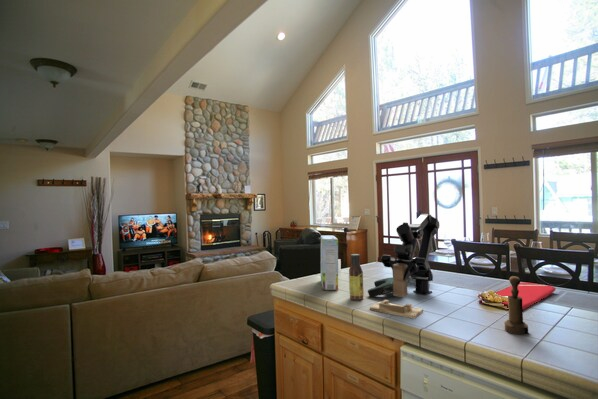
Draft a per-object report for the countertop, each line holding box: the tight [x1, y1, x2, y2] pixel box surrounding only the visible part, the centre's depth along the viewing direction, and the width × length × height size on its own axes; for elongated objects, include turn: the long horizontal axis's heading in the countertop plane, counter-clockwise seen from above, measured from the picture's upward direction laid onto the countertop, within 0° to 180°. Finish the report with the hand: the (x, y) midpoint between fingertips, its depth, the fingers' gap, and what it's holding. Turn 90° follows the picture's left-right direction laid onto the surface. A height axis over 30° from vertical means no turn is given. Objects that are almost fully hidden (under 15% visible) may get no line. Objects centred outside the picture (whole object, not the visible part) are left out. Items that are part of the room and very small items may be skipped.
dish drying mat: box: [478, 282, 556, 310], centre depth 145 cm, size 16×41×4 cm, turn 126°
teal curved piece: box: [367, 276, 414, 298], centre depth 156 cm, size 20×6×20 cm
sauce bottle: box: [348, 253, 365, 301], centre depth 150 cm, size 7×6×20 cm
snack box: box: [320, 234, 339, 291], centre depth 175 cm, size 22×9×26 cm, turn 179°
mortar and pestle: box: [504, 275, 529, 336], centre depth 109 cm, size 7×6×18 cm
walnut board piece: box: [392, 263, 408, 298], centre depth 136 cm, size 5×4×12 cm
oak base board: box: [369, 299, 424, 319], centre depth 132 cm, size 10×18×3 cm, turn 52°
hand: (398, 279), depth 135 cm, fingers closed on walnut board piece, 4 cm apart
